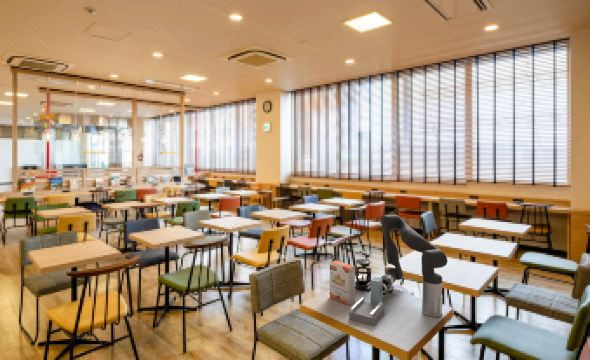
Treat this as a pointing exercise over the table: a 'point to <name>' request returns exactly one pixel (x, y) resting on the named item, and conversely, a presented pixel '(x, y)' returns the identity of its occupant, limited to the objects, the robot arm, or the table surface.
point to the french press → (362, 280)
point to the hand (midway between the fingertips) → (375, 292)
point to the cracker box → (342, 282)
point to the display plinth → (366, 312)
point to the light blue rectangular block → (376, 290)
